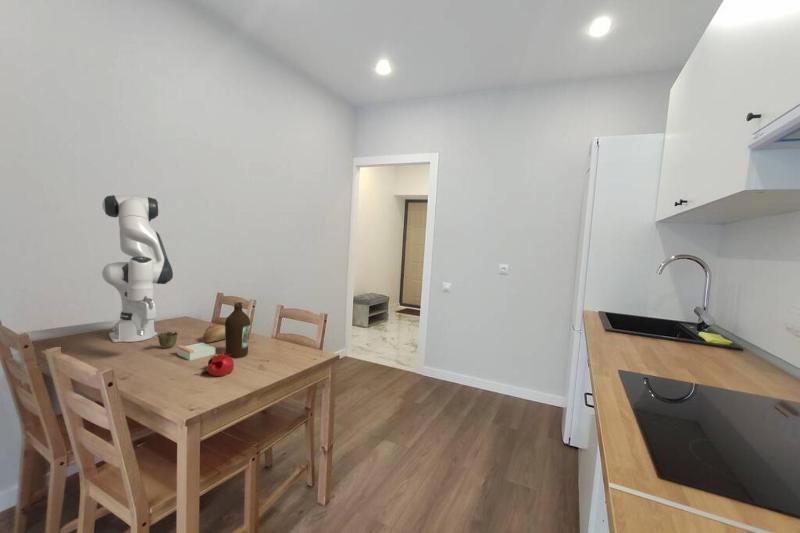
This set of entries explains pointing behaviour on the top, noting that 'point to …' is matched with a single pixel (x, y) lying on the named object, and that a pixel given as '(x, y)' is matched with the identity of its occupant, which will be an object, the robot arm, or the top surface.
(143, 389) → the top surface
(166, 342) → the cup
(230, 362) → the pomegranate
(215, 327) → the bread roll
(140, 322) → the lightbulb
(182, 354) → the mint green flat box
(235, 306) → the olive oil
